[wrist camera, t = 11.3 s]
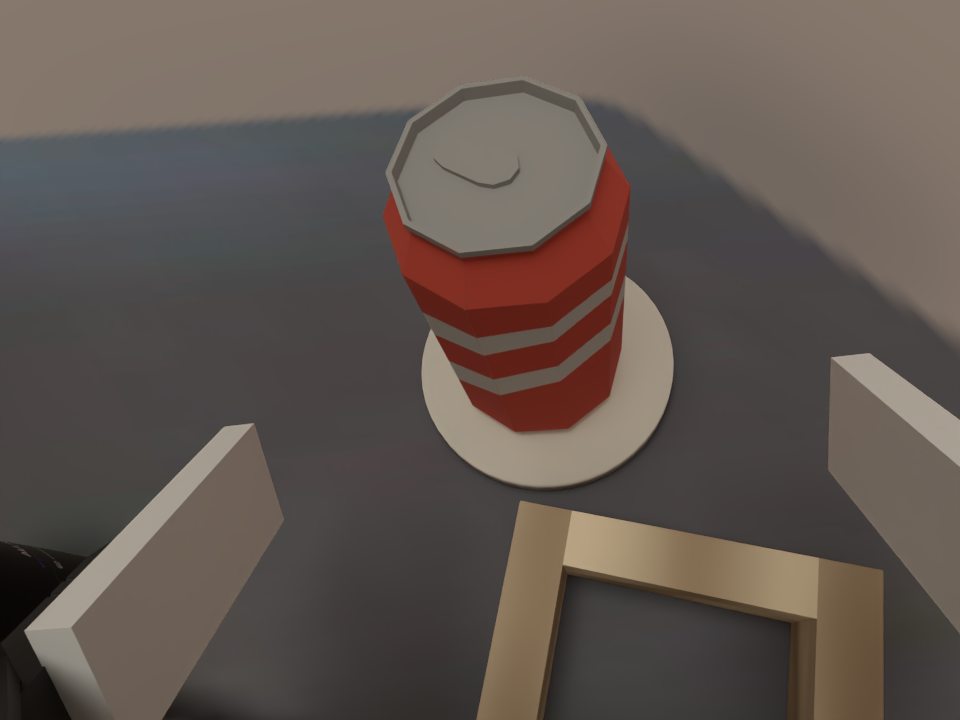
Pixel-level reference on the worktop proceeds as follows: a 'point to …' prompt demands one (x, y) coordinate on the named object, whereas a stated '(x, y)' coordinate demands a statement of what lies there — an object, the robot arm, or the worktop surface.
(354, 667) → the worktop surface
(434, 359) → the coaster
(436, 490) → the worktop surface
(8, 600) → the supplement bottle
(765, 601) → the oak holder
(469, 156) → the beverage can
